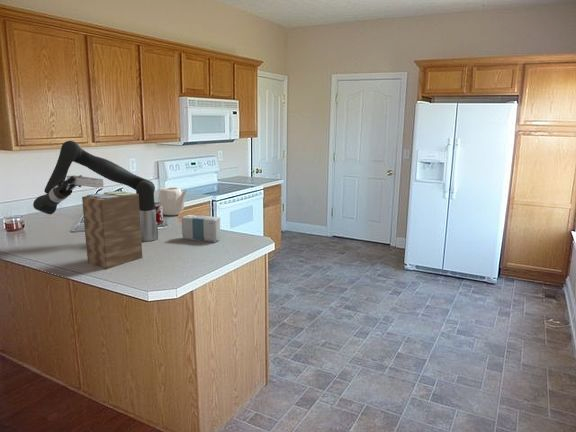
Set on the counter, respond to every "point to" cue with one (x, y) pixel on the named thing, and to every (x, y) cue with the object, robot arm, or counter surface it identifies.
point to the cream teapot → (172, 200)
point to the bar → (87, 181)
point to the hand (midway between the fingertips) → (77, 177)
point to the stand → (112, 228)
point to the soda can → (159, 213)
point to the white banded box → (201, 227)
